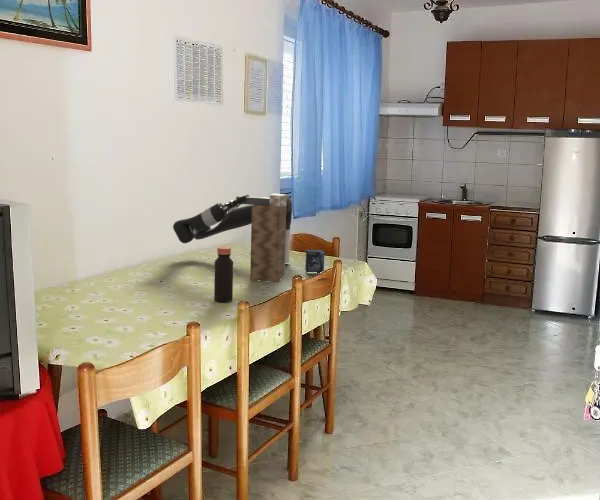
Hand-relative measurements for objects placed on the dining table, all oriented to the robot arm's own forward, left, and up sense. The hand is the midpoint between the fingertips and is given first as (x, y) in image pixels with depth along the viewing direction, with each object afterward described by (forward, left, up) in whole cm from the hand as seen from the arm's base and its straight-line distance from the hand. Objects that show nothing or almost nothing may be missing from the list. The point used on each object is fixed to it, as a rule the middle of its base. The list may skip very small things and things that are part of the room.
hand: (247, 197), depth 273 cm
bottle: (+28, -31, -35) cm, 55 cm away
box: (+11, +31, -35) cm, 48 cm away
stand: (+8, +6, -35) cm, 36 cm away
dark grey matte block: (+4, +3, -3) cm, 6 cm away
